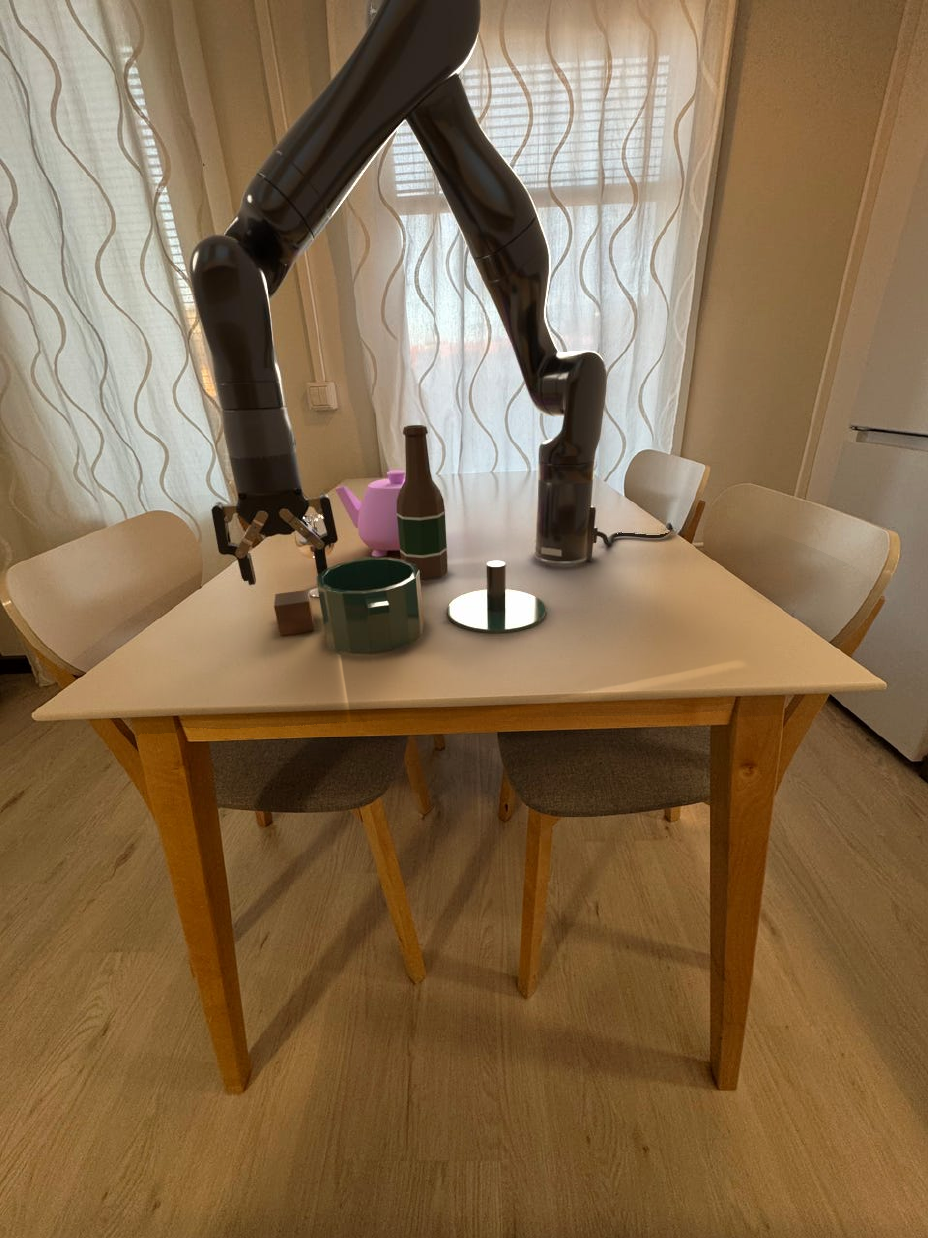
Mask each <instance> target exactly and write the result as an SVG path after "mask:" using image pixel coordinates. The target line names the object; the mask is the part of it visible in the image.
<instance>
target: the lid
mask: <svg viewBox="0 0 928 1238" xmlns="http://www.w3.org/2000/svg"><path fill="white" fill-rule="evenodd" d="M485 565H486V571H485V572H486V589H481V590H474V591H471V592H468V593H465V594H462V595H460V596H458V597H456V598H454V599H453V600H452V601H450V603H449V604H448V606H447V616H448V619H450V621H451V622H452V623H454V624H455V625H457V626H459V627H460V628H463V629H466V630H469V631H473V632H479V633H486V634H507V633H514V632H519V631H523V630H527V629H530V628H532V627H534V626H536V625H537V624H539V623H541V622H542V621H543V619H544V618H545V617H546V613H547V612H546V611H547V608H546V605H545V603H544V602H543V601H542V600H541V599H540V598H538V597H537V596H535V595H533V594H530V593H527V592H523V591H520V590H513V589H506V588H507V587H506V586H507V581H506V579H507V575H506V574H507V573H506V572H507V564H506V562H505V561H502V560H490V561H487V562H486V564H485Z"/></svg>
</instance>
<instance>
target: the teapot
mask: <svg viewBox="0 0 928 1238" xmlns="http://www.w3.org/2000/svg"><path fill="white" fill-rule="evenodd" d="M405 474H406V470H405V471H404V470H400V469H395V470H388V471H387V472H386V476H387V478H381V479H378V480H375V481H372V482H370V483H368V485H367V487H366V489H365V492H364V495H363V497H362V500H361V501H360V500H359V499H358V498H357V496H355V494H354V493H353V492H352V491H351V490H350V489H349V487H348V486H337V487H336V488H335V493H336V494H337V495H338V497H339V499H340V501H341V503H342V505H343V507H344V509H345V511H346V512H347V514H348V516H349V519H350V520H351V522H352V524H353V526H354V527H355V529H357V533H358V536H359V539H360V540H361V541H362V542H363V543H364V545H366V546H367V547H368V548H369V549H372V550H373V551H372V552H371V557H374V558H381V557H385V556H387V555H388V551H400V543H399V532H398V521H397V498H398V494H399V491H400V489H401V487H402V485H403V484H404V482H405Z"/></svg>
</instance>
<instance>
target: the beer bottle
mask: <svg viewBox="0 0 928 1238" xmlns="http://www.w3.org/2000/svg"><path fill="white" fill-rule="evenodd" d="M428 434H429V432H428V427H427V425H426V426H425V425H423V424H412V425H406V426H404V427H403V430H402V435H404V444H405V445H404V448H405V451H404V453H405V475H404V478H405V482H404V484H403V485H402V487H401V489H400V491H399V494H398V498H397V521H398V532H399V543H400V550H399V552H400V553H399V555H400V559H401V560H406V561H408V562H410V563H413V564H415V565H416V566H417V568H418V569H419V571H420V581H421V582H423V581H424V582H425V581H430V580H436V579H441V578H442V577H443V576H445V574H447V573H448V548H447V547H448V546H447V544H448V543H447V525H446V523H447V522H446V508H445V500H444V497H443V495H442V492H441V490H440V489H439V487H438V486H437V484H436V483H435V481H434V480H433V475H432V471H431V465H430V457H429V449H428V439H427V435H428Z"/></svg>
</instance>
